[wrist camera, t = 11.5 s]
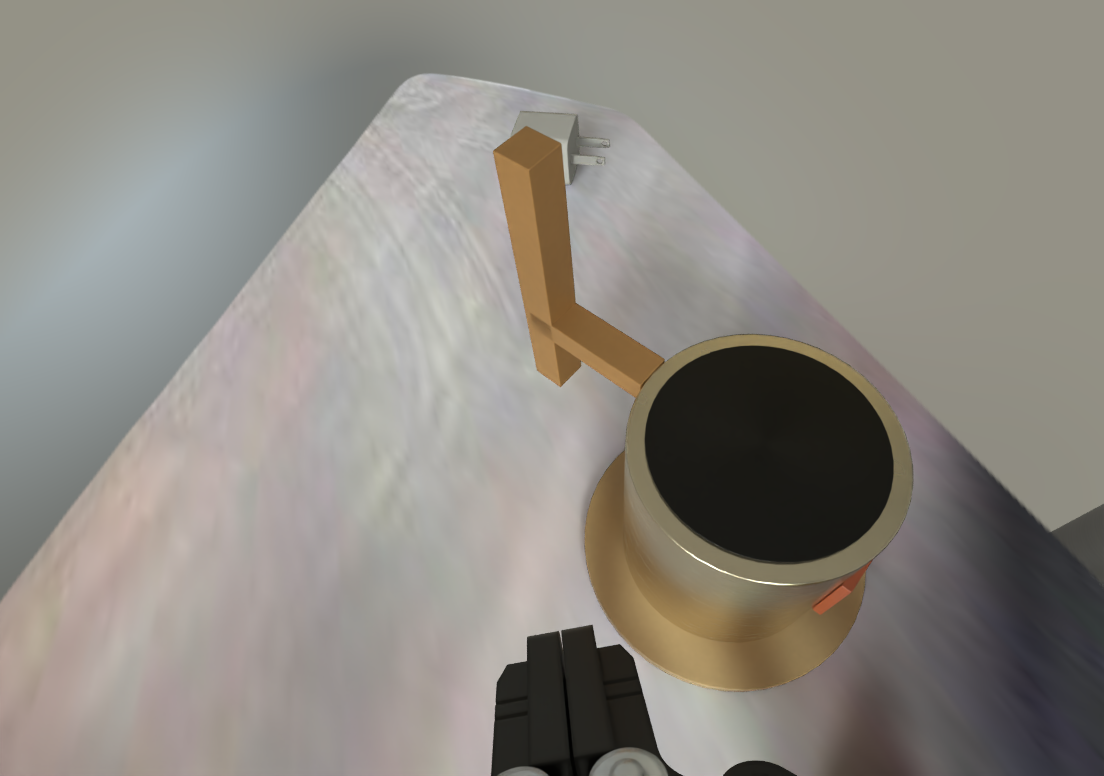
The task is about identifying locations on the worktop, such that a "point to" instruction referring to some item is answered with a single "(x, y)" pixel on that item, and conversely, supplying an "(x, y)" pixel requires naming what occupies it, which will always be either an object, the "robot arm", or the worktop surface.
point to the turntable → (682, 650)
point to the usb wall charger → (563, 138)
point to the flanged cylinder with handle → (718, 441)
